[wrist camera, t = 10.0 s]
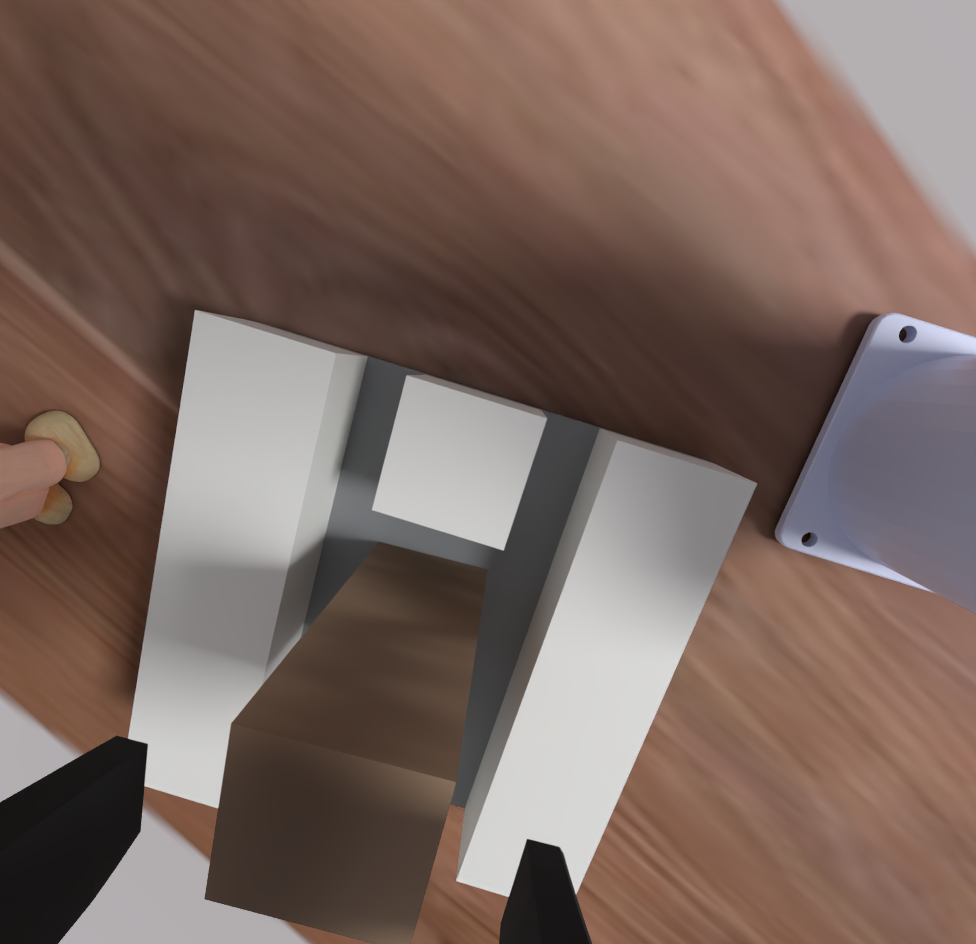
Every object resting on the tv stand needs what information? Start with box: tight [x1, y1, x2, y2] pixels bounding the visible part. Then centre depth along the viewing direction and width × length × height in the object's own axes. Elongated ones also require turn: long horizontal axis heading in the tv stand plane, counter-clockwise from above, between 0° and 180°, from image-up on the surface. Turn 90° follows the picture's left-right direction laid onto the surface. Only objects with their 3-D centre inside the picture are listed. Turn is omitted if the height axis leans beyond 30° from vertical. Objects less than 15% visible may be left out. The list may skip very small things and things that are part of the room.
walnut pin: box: [205, 542, 488, 944], centre depth 13 cm, size 4×4×9 cm
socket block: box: [128, 310, 757, 897], centre depth 16 cm, size 16×16×4 cm
